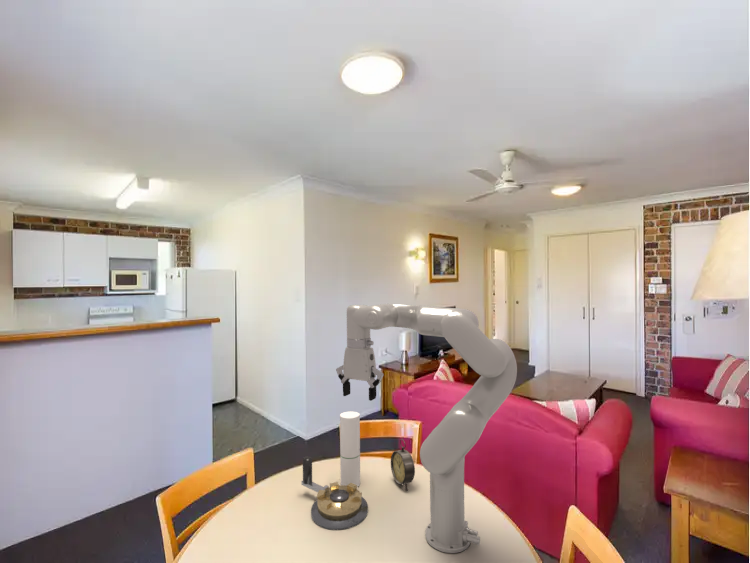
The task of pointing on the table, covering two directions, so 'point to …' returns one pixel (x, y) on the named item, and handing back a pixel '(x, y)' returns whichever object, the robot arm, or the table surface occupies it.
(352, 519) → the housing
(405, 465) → the alarm clock
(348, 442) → the cylindrical container
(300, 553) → the table surface
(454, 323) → the robot arm
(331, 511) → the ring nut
